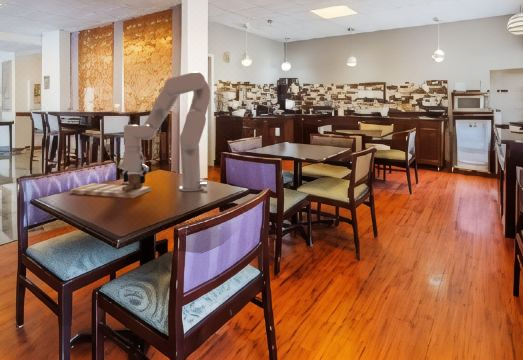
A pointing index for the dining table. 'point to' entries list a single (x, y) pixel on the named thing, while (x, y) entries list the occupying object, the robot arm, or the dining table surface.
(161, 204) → the dining table surface
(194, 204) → the dining table surface
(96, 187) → the board
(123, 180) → the jar
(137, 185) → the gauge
